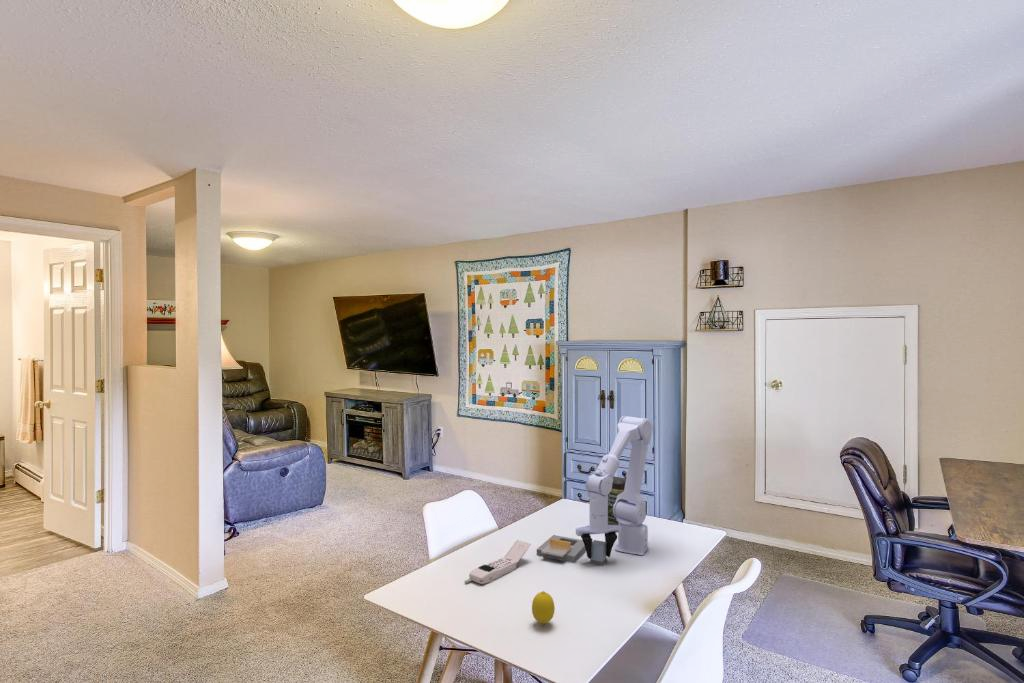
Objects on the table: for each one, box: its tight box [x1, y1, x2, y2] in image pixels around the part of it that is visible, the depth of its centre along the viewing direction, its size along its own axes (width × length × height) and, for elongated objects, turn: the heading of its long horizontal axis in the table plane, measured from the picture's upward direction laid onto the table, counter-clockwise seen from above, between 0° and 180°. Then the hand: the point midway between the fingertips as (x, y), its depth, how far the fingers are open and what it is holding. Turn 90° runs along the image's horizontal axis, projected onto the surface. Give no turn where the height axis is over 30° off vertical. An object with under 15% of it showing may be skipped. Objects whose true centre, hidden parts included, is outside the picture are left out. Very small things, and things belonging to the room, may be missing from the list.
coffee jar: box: [608, 476, 629, 525], centre depth 200 cm, size 10×8×19 cm
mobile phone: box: [464, 539, 532, 585], centre depth 160 cm, size 6×6×25 cm
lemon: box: [531, 590, 555, 626], centre depth 130 cm, size 6×6×8 cm
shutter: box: [541, 539, 572, 557], centre depth 170 cm, size 8×8×2 cm
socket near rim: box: [571, 541, 586, 555], centre depth 176 cm, size 4×6×2 cm, turn 154°
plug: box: [589, 539, 608, 566], centre depth 167 cm, size 4×4×6 cm
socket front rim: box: [552, 534, 583, 547], centre depth 182 cm, size 13×2×2 cm, turn 64°
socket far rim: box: [545, 535, 561, 543], centre depth 180 cm, size 4×6×2 cm, turn 154°
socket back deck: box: [536, 541, 583, 564], centre depth 172 cm, size 13×7×2 cm, turn 64°
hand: (598, 556), depth 167 cm, fingers closed on plug, 6 cm apart
